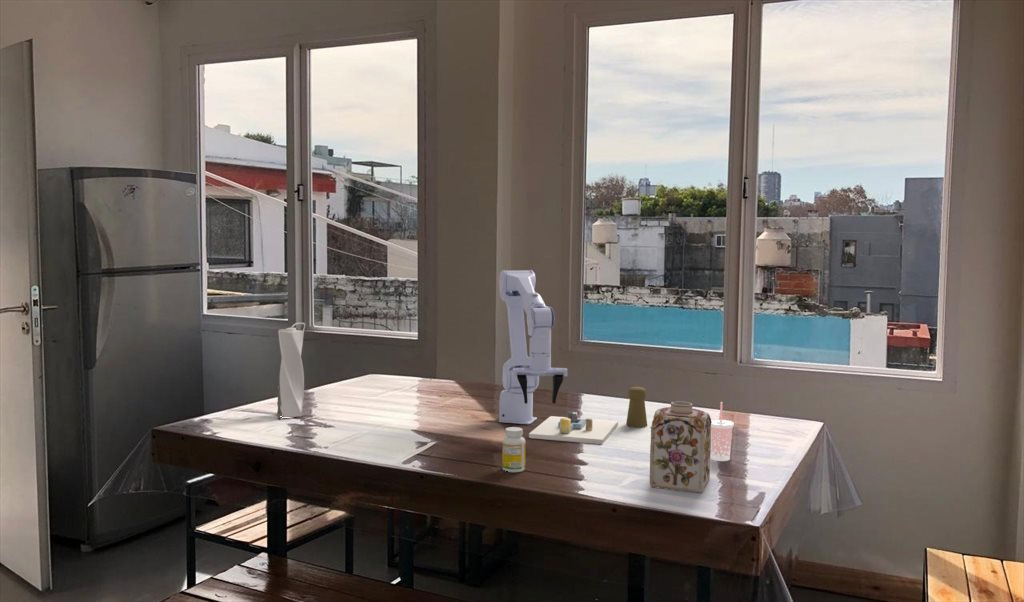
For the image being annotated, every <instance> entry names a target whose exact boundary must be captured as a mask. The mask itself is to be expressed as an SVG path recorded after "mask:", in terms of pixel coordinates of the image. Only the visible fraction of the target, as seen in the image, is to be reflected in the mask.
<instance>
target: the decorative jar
mask: <svg viewBox="0 0 1024 602" xmlns="http://www.w3.org/2000/svg"><path fill="white" fill-rule="evenodd" d="M711 420H712V418H711V416H710V414H709V413H708V412H706V411H704V410H701V409H697V408H693V403H691V402H689V401H679V400H677V401H671V402H670V407H668V406H667V407H663V408H662V407H661V408H658V409H657V410H655V411H654V415H653V419H652V421H651V422H652V423H651V426H650V445H649V446H650V447H649V448H650V449H649V486H650V488H655V487H659V488H658V489H663V488H667V489H666V490H671V489H674V490H673V491H679V490H682V491H681V492H688V491H690V492H689V493H697V492H698V494H701V493H703V492H704V490H705V488H706V485H707V484H708V481H709V479H710V478H711V477H710V473H711V472H710V471H711V458H710V455H711V423H712V421H711Z"/></svg>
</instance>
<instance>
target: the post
mask: <svg viewBox="0 0 1024 602" xmlns="http://www.w3.org/2000/svg"><path fill="white" fill-rule="evenodd" d="M578 415H579V413H578V412H577V411H567V415H566V416H567V418H569V419H571V422H572V423H577V418H579V416H578Z"/></svg>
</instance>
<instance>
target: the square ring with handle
mask: <svg viewBox="0 0 1024 602" xmlns="http://www.w3.org/2000/svg"><path fill="white" fill-rule="evenodd" d="M586 419H587V418H582V419H577V423H572V422H571V419H569V418H561V419H560V421H559V422H558V427H560V432H561V433H570V432H571V430H572V429H573V428H580V429H581V428H582V427H583V426H584V425H585V424H586Z"/></svg>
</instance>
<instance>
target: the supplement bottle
mask: <svg viewBox="0 0 1024 602" xmlns="http://www.w3.org/2000/svg"><path fill="white" fill-rule="evenodd" d="M523 430H524V429H523V428H522V427H517V426H511V427H509V426H508V427H506V428H505V430H504V431H505V437H504V438H503V439H502V457H501V458H502V460H501V461H502V464H501V465H502V470H503V471H504V470H505V471H504V472H506V471H508V473H521V472H524V471H525V469H526V438H525V437H523V434H524V431H523Z"/></svg>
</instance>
